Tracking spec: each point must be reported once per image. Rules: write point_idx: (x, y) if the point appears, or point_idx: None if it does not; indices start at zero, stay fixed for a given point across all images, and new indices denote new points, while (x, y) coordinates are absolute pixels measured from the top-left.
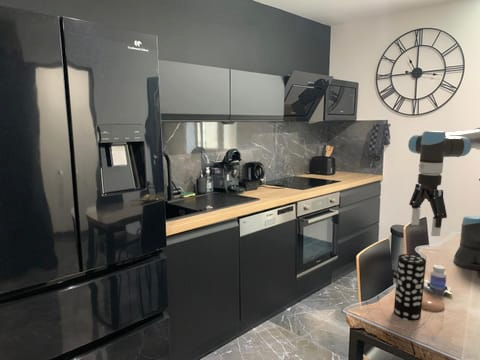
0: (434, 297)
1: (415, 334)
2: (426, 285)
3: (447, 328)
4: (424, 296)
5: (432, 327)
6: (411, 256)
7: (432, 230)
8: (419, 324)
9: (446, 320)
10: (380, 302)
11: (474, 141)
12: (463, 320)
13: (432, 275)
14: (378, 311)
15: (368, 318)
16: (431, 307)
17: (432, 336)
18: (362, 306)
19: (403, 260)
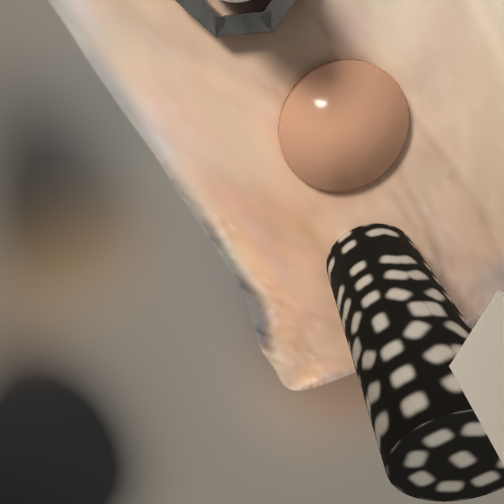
0: (324, 73)
1: (463, 307)
2: (212, 17)
3: (497, 195)
4: (301, 116)
5: (466, 238)
6: (435, 444)
7: (500, 429)
8: (433, 264)
9: (463, 157)
10: (272, 293)
11: None
12: (499, 86)
13: (233, 2)
14: (320, 328)
15: (343, 369)
16: (388, 161)
17: (496, 271)
18: (279, 353)
19: (456, 498)
